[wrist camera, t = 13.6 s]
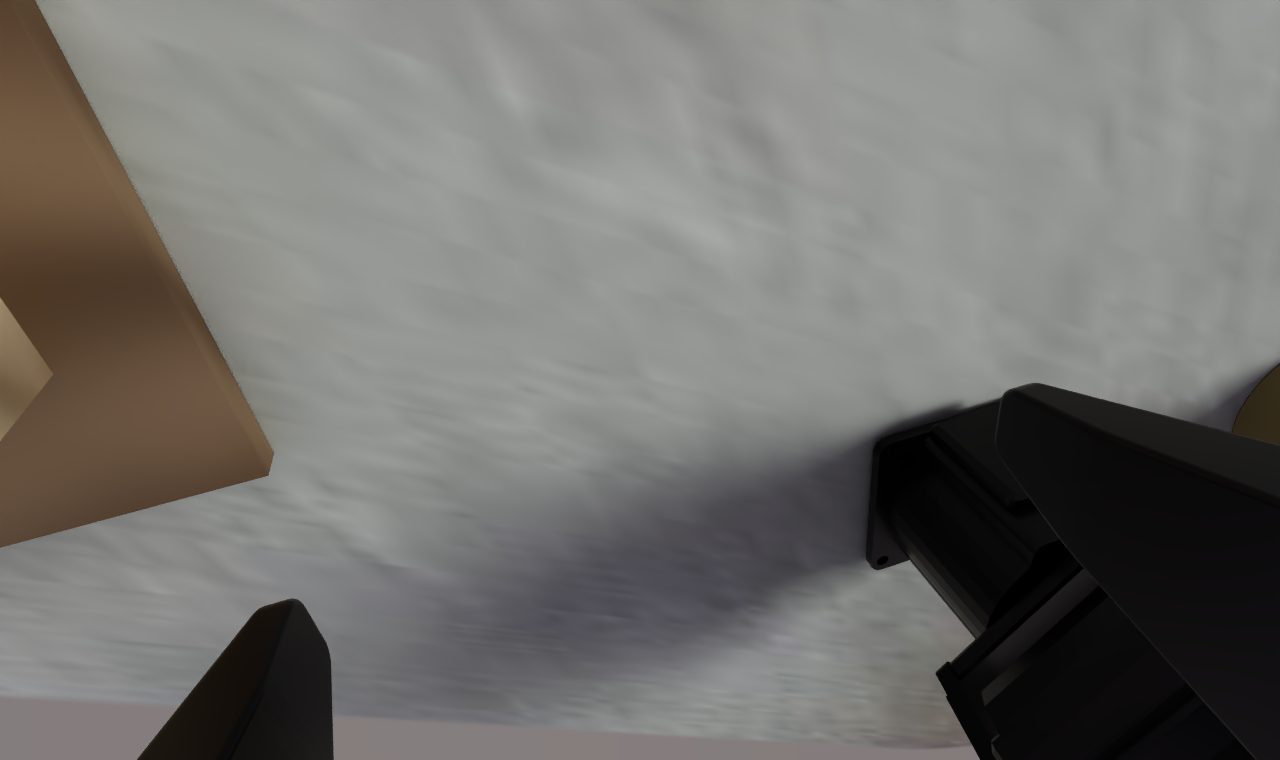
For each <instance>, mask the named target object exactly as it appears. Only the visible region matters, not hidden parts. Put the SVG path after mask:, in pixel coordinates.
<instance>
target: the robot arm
mask: <svg viewBox="0 0 1280 760" xmlns="http://www.w3.org/2000/svg"><path fill="white" fill-rule="evenodd" d="M866 560H867V562H868V563H869V564H870V566H871V567H872V568H873V569H875V570H880V569H884V568H887V567H890V566H893V565H896V564H899V563H902V562H905V561H908V560H910V561H911V562H912V563H913V565H914V566H915V567H916V568H917V569H918V571H919V572H920V573H921V574H922V575H923V577H924V578H925V579H926V580H927V581H928V583H929V584H930V585H931V586H932V587H933V589H934V590H935V591H936V592H937V593H938V595H939V596H940V597H941V598H942V599H943V601H944V602H945V603H946V604H947V605H948V607H949V608H950V609H951V610H952V611H953V613H954V614H955V615H956V616H957V617H958V619H959V620H960V621H961V622H962V623H963V625H964V626H965V627H966V628H967V629H968V631H969V632H970V633H971V634H972V635H973V637H974V638H975V640H974V641H973V642H972V643H971V644H970V645H969V646H968V647H967V648H966V649H965V650H964V651H962V652H961V653H960V654H959V655H958V656H957V657H956V658H955V659H954V660H953V661H952V662H951V663H950V662H946V663H945V664H944V665H943V666H942V667H941V668H940V669H938V670H937V671H936V676H937V677H938V679H939V681H940V683H941V685H942V686H943V688H944V690H945V692H946V694H947V696H946V698H947V700H948V702H949V704H950V706H951V707H952V709H953V711H954V713H955V715H956V716H957V718H958V720H959V722H960V724H961V726H962V727H963V729H964V731H965V733H966V735H967V737H968V738H969V740H970V742H971V744H972V746H973V747H974V749H975V751H976V753H977V755H978V757H979V758H980V760H1280V445H1277V444H1273V443H1269V442H1265V441H1262V440H1258V439H1254V438H1250V437H1246V436H1242V435H1238V434H1234V433H1231V432H1227V431H1223V430H1219V429H1215V428H1211V427H1207V426H1203V425H1200V424H1196V423H1192V422H1188V421H1184V420H1180V419H1176V418H1172V417H1169V416H1165V415H1161V414H1157V413H1153V412H1149V411H1145V410H1142V409H1138V408H1134V407H1130V406H1126V405H1122V404H1118V403H1114V402H1111V401H1107V400H1103V399H1099V398H1095V397H1091V396H1087V395H1083V394H1080V393H1076V392H1072V391H1068V390H1064V389H1060V388H1056V387H1052V386H1049V385H1045V384H1041V383H1030V384H1026V385H1023V386H1019V387H1016V388H1013V389H1010V390H1008V391H1006V392H1005V393H1004V395H1003V396H1002V398H1001V402H999V403H996V404H993V405H989V406H986V407H983V408H979V409H976V410H973V411H969V412H966V413H963V414H960V415H956V416H953V417H950V418H946V419H943V420H940V421H936V422H933V423H930V424H926V425H923V426H920V427H916V428H913V429H910V430H907V431H903V432H900V433H897V434H893V435H890V436H887V437H884V438H882V439H881V440H880V441H879V442H877V444H876V445H875V447H874V450H873V461H872V476H871V490H870V505H869V519H868V534H867V548H866ZM332 722H333V719H332V682H331V659H330V653H329V649H328V646H327V644H326V642H325V640H324V638H323V636H322V635H321V633H320V631H319V630H318V628H317V626H316V625H315V623H314V621H313V619H312V618H311V616H310V614H309V613H308V611H307V609H306V608H305V606H304V605H303V603H302V602H301V601H299V600H298V599H287V600H284V601H281V602H277V603H274V604H270V605H267V606H264V607H262V608H260V609H258V610H257V611H256V612H255V613H254V614H253V615H252V616H251V618H250V619H249V620H248V621H247V623H246V624H245V625H244V626H243V628H242V629H241V630H240V631H239V633H238V634H237V635H236V636H235V638H234V639H233V640H232V641H231V643H230V644H229V645H228V646H227V648H226V649H225V650H224V651H223V653H222V654H221V655H220V656H219V658H218V659H217V660H216V661H215V663H214V664H213V665H212V666H211V668H210V669H209V670H208V671H207V673H206V674H205V675H204V676H203V678H202V679H201V680H200V681H199V683H198V684H197V685H196V686H195V688H194V689H193V690H192V691H191V693H190V694H189V695H188V696H187V698H186V699H185V700H184V701H183V703H182V704H181V705H180V706H179V708H178V709H177V710H176V711H175V713H174V714H173V715H172V716H171V718H170V719H169V720H168V721H167V723H166V724H165V725H164V726H163V728H162V729H161V730H160V731H159V733H158V734H157V735H156V736H155V738H154V739H153V740H152V741H151V743H150V744H149V745H148V746H147V748H146V749H145V750H144V751H143V753H142V754H141V755H140V756H139V758H138V759H137V760H334V756H333V723H332Z"/></svg>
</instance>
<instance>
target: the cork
mask: <svg viewBox="0 0 1280 760" xmlns="http://www.w3.org/2000/svg"><path fill="white" fill-rule="evenodd" d="M1232 433H1234V434H1238V435H1242V436H1246V437H1250V438H1254V439H1258V440H1262V441H1265V442H1269V443H1273V444H1277V445H1280V365H1279V366H1277V367H1276V368H1275V369H1274V370H1273V371H1272V372H1271V373H1270V374H1269V375H1267V376H1266V377H1265V378H1264V379H1263V380H1262V381H1261V383H1260V384H1259V385H1258V386H1257V387H1256V389H1255V390H1254V391H1253V392H1252V393H1251V395H1250V396H1249V397H1248V398H1247V400H1246V402H1245V403H1244V405H1243V407H1242V409H1241V410H1240V412H1239V414H1238V416H1237V418H1236V421H1235V425H1234V428H1233V431H1232Z"/></svg>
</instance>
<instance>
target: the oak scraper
mask: <svg viewBox="0 0 1280 760" xmlns="http://www.w3.org/2000/svg"><path fill="white" fill-rule="evenodd" d="M52 375H53V373H52V371H51V370H50V369H49V367H48V366H47V364H46V363H45V361H44V360H43V358H42V357H41V356H40V354H39V353H38V351H37V350H36V348H35V347H34V345H33V344H32V343H31V341H30V340H29V338H28V337H27V335H26V334H25V332H24V331H23V330H22V328H21V327H20V325H19V324H18V322H17V321H16V319H15V318H14V317H13V315H12V314H11V312H10V311H9V309H8V308H7V306H6V305H5V304H4V302H3V301H2V299H1V298H0V441H1V439H2V438H3V437H4V436H5V434H6V433H7V432H8V431H9V429H10V428H11V427H12V426H13V424H14V423H15V422H16V421H17V419H18V418H19V417H20V416H21V414H22V413H23V412H24V411H25V409H26V408H27V407H28V406H29V404H30V403H31V402H32V401H33V399H34V398H35V397H36V395H37V394H38V393H39V392H40V390H41V389H42V388H43V387H44V385H45V384H46V383H47V382H48V380H49V379H50V378H51V377H52Z"/></svg>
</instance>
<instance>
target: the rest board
mask: <svg viewBox="0 0 1280 760" xmlns="http://www.w3.org/2000/svg"><path fill="white" fill-rule="evenodd" d="M0 298H1V299H2V301H3V302H4V304H5V305H6V306H7V308H8V309H9V311H10V312H11V314H12V315H13V317H14V318H15V319H16V321H17V322H18V324H19V325H20V327H21V328H22V330H23V331H24V332H25V334H26V335H27V337H28V338H29V340H30V341H31V343H32V344H33V345H34V347H35V348H36V350H37V351H38V353H39V354H40V356H41V357H42V358H43V360H44V361H45V363H46V364H47V366H48V367H49V369H50V370H51V371H52V373H53V375H52V377H51V378H50V379H49V380H48V382H47V383H46V384H45V385H44V387H43V388H42V389H41V390H40V392H39V393H38V394H37V395H36V397H35V398H34V399H33V401H32V402H31V403H30V404H29V406H28V407H27V408H26V409H25V411H24V412H23V413H22V414H21V416H20V417H19V418H18V419H17V421H16V422H15V423H14V424H13V426H12V427H11V428H10V429H9V431H8V432H7V433H6V434H5V436H4V437H3V438H2V439H1V441H0V547H4V546H8V545H11V544H15V543H19V542H23V541H26V540H30V539H34V538H38V537H41V536H45V535H49V534H52V533H56V532H60V531H64V530H67V529H71V528H75V527H79V526H82V525H86V524H90V523H93V522H97V521H101V520H105V519H108V518H112V517H116V516H120V515H123V514H127V513H131V512H134V511H138V510H142V509H146V508H149V507H153V506H157V505H161V504H164V503H168V502H172V501H175V500H179V499H183V498H187V497H190V496H194V495H198V494H202V493H205V492H209V491H213V490H216V489H220V488H224V487H228V486H231V485H235V484H239V483H242V482H246V481H250V480H254V479H257V478H261V477H265V476H268V475H269V471H270V467H271V463H272V459H273V455H274V452H273V450H272V448H271V446H270V444H269V443H268V441H267V439H266V437H265V435H264V433H263V431H262V429H261V427H260V426H259V424H258V422H257V420H256V418H255V416H254V414H253V412H252V410H251V409H250V407H249V405H248V403H247V401H246V399H245V397H244V395H243V393H242V391H241V390H240V388H239V386H238V384H237V382H236V380H235V378H234V376H233V374H232V373H231V371H230V369H229V367H228V365H227V363H226V361H225V359H224V357H223V356H222V354H221V352H220V350H219V348H218V346H217V344H216V342H215V340H214V338H213V337H212V335H211V333H210V331H209V329H208V327H207V325H206V323H205V321H204V320H203V318H202V316H201V314H200V312H199V310H198V308H197V306H196V304H195V303H194V301H193V299H192V297H191V295H190V293H189V291H188V289H187V287H186V285H185V284H184V282H183V280H182V278H181V276H180V274H179V272H178V270H177V268H176V267H175V265H174V263H173V261H172V259H171V257H170V255H169V253H168V251H167V250H166V248H165V246H164V244H163V242H162V240H161V238H160V236H159V234H158V232H157V231H156V229H155V227H154V225H153V223H152V221H151V219H150V217H149V215H148V214H147V212H146V210H145V208H144V206H143V204H142V202H141V200H140V198H139V197H138V195H137V193H136V191H135V189H134V187H133V185H132V183H131V181H130V179H129V178H128V176H127V174H126V172H125V170H124V168H123V166H122V164H121V162H120V161H119V159H118V157H117V155H116V153H115V151H114V149H113V147H112V145H111V144H110V142H109V140H108V138H107V136H106V134H105V132H104V130H103V128H102V126H101V125H100V123H99V121H98V119H97V117H96V115H95V113H94V111H93V109H92V108H91V106H90V104H89V102H88V100H87V98H86V96H85V94H84V92H83V91H82V89H81V87H80V85H79V83H78V81H77V79H76V77H75V75H74V73H73V72H72V70H71V68H70V66H69V64H68V62H67V60H66V58H65V56H64V55H63V53H62V51H61V49H60V47H59V45H58V43H57V41H56V39H55V38H54V36H53V34H52V32H51V30H50V28H49V26H48V24H47V22H46V20H45V19H44V17H43V15H42V13H41V11H40V9H39V7H38V5H37V3H36V2H35V0H0Z"/></svg>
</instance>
